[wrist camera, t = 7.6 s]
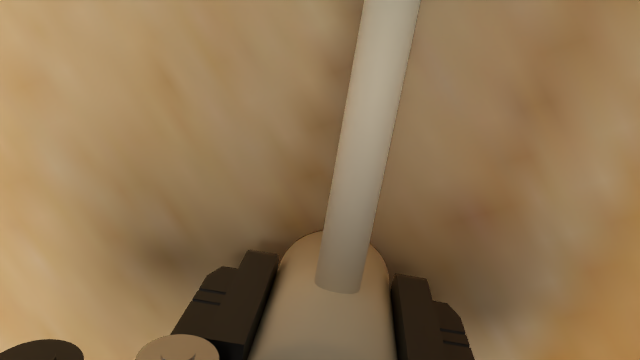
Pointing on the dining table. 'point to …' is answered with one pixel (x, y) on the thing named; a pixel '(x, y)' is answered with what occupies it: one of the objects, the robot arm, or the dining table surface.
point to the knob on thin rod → (347, 217)
